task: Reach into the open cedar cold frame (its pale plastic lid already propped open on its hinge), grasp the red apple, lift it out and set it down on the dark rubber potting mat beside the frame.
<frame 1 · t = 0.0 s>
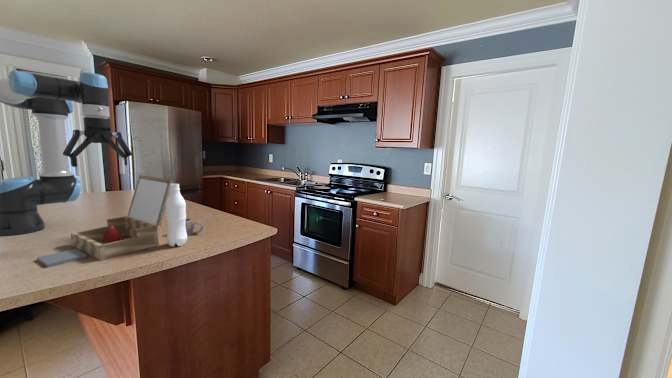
hand: (101, 174, 105), 28 cm above the countertop, fingers open, 13 cm apart
water bottle: (177, 245, 113), on the countertop
slate mat: (62, 258, 95), on the countertop
mug: (190, 234, 126), on the countertop
cold frame: (116, 245, 109), on the countertop
lid: (149, 199, 118), point 17 cm above the countertop, hinge at 108.0°
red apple: (113, 246, 109), resting in cold frame
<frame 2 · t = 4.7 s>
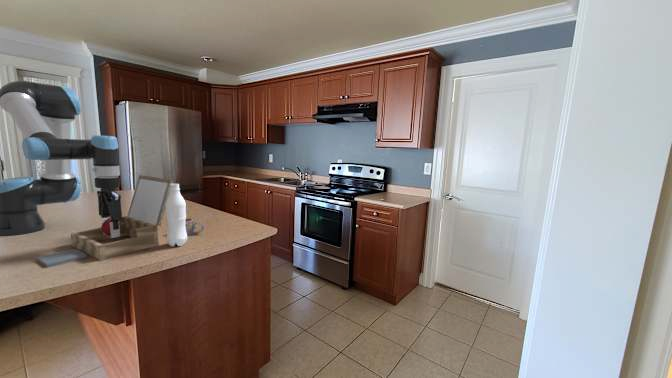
hand: (111, 235, 108), 4 cm above the countertop, fingers closed on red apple, 6 cm apart
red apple: (111, 236, 108), point 4 cm above the countertop, touching gripper
everything else where it was.
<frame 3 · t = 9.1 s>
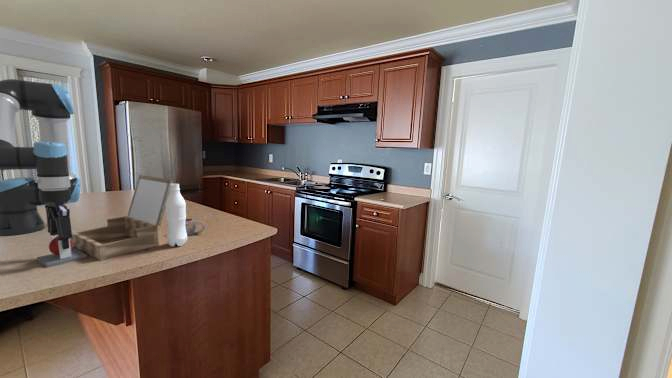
hand: (62, 255, 95), 1 cm above the countertop, fingers closed on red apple, 6 cm apart
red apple: (62, 256, 95), point 1 cm above the countertop, touching gripper, slate mat
everything else where it was.
when the fingers open (1 cm above the countertop, at t = 9.9 s): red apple stays where it is, resting on slate mat.
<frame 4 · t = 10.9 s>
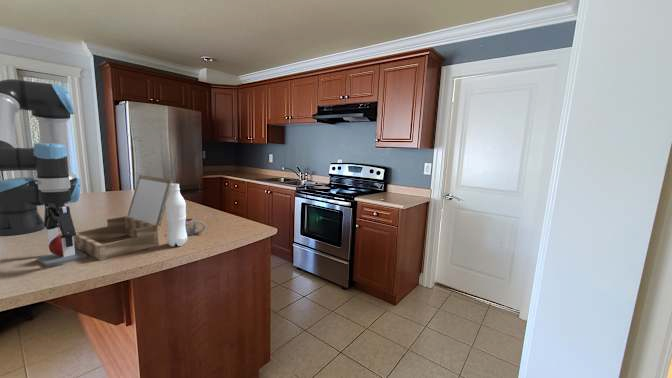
hand: (61, 251, 95), 3 cm above the countertop, fingers open, 13 cm apart
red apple: (62, 256, 95), point 1 cm above the countertop, touching slate mat
everything else where it was.
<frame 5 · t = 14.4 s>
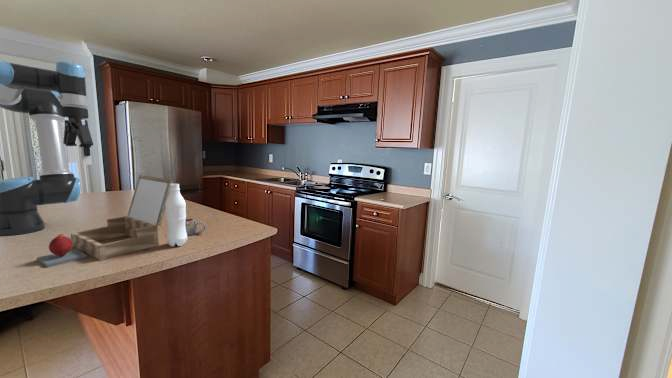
hand: (79, 163, 106), 32 cm above the countertop, fingers open, 13 cm apart
at the end: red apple inside the target area on the slate mat (0.0 cm from its centre), point 0.8 cm above the slate mat's base; the gripper is holding nothing; lid at +108° (first picture: +108°) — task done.
